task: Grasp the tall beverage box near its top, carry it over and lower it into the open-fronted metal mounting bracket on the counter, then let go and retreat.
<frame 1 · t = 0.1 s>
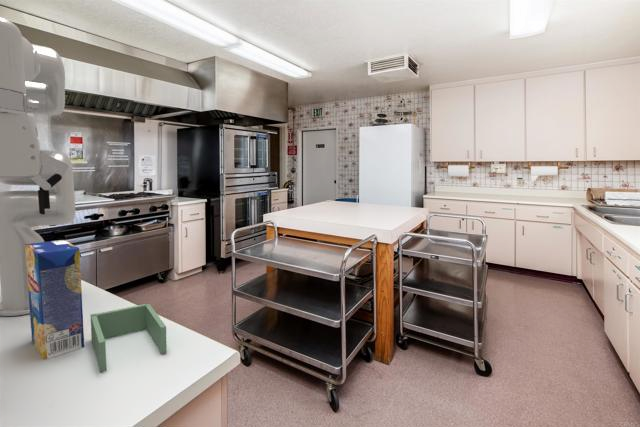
hand: (3, 214, 54), 31 cm above the kitchen counter, fingers open, 9 cm apart
mount bracket: (128, 347, 74), on the kitchen counter
beverage box: (57, 344, 74), on the kitchen counter
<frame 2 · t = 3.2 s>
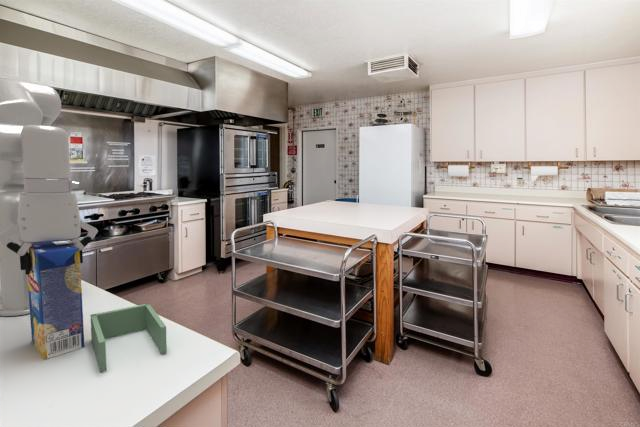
hand: (53, 269, 72), 17 cm above the kitchen counter, fingers closed on beverage box, 7 cm apart
beverage box: (58, 344, 74), on the kitchen counter, touching gripper
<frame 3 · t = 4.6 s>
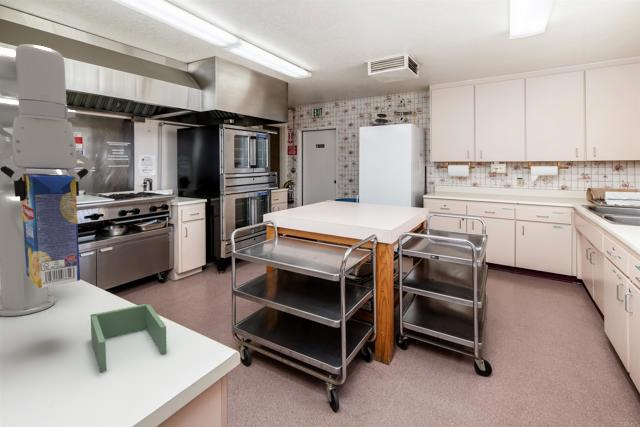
hand: (48, 199, 70), 32 cm above the kitchen counter, fingers closed on beverage box, 7 cm apart
beverage box: (53, 278, 73), point 15 cm above the kitchen counter, touching gripper
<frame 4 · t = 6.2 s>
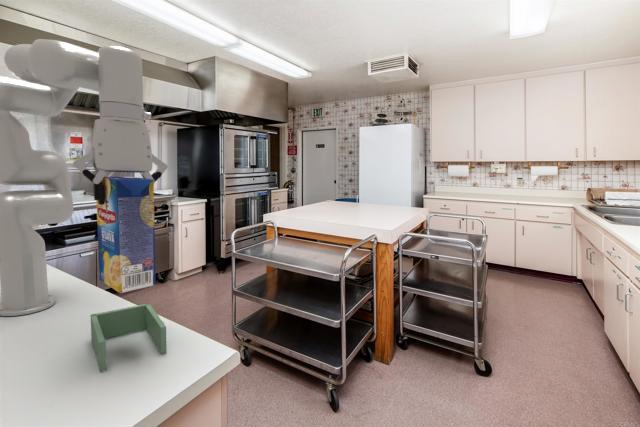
hand: (124, 202, 69), 32 cm above the kitchen counter, fingers closed on beverage box, 7 cm apart
beverage box: (127, 283, 71), point 15 cm above the kitchen counter, touching gripper
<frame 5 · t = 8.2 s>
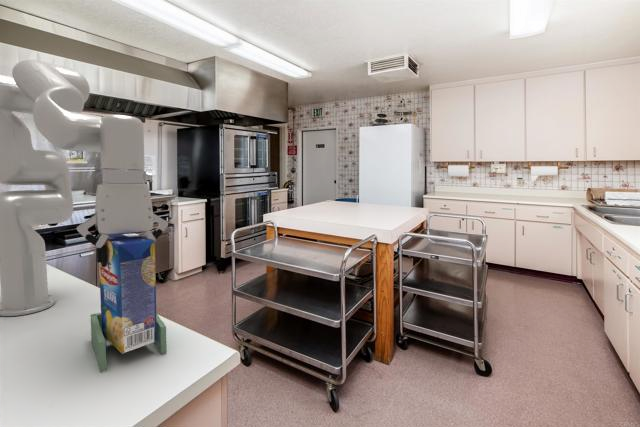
hand: (126, 262, 71), 19 cm above the kitchen counter, fingers closed on beverage box, 7 cm apart
beverage box: (129, 339, 73), point 2 cm above the kitchen counter, touching gripper
when the fingers open (18 cm above the kitchen counter, at t = 9.6 s): beverage box drops 1 cm, on the kitchen counter.
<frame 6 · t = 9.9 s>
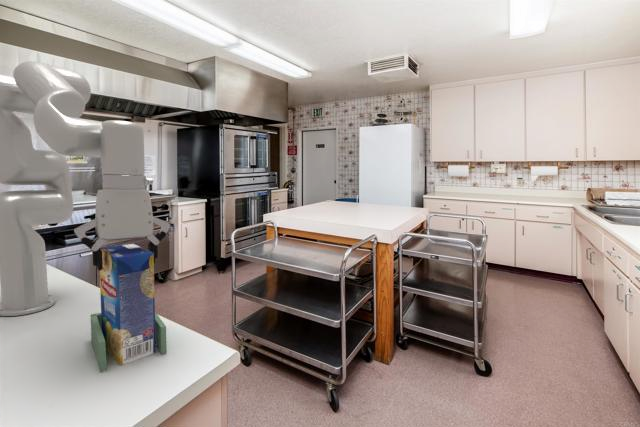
hand: (126, 265, 71), 19 cm above the kitchen counter, fingers open, 9 cm apart
beverage box: (128, 349, 74), on the kitchen counter
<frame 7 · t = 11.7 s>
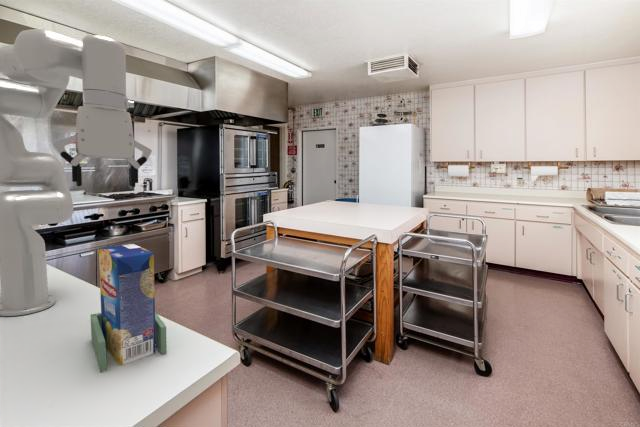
hand: (106, 186, 72), 35 cm above the kitchen counter, fingers open, 9 cm apart
nothing on the kitchen counter moved.
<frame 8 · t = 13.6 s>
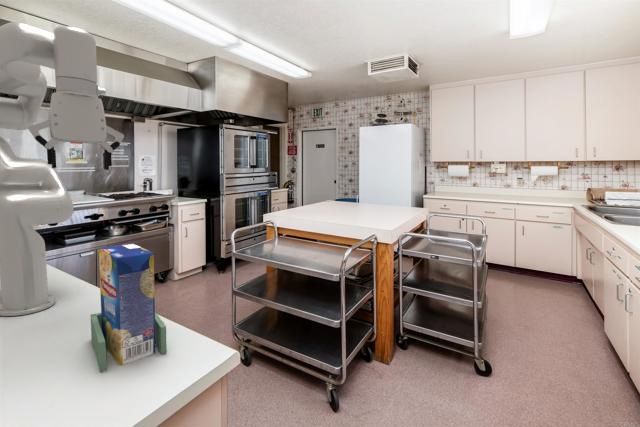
hand: (81, 168, 76), 38 cm above the kitchen counter, fingers open, 9 cm apart
nothing on the kitchen counter moved.
at the end: beverage box inside the target area (0.2 cm from its centre), on the kitchen counter; beverage box tilted 0°; the gripper is holding nothing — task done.
